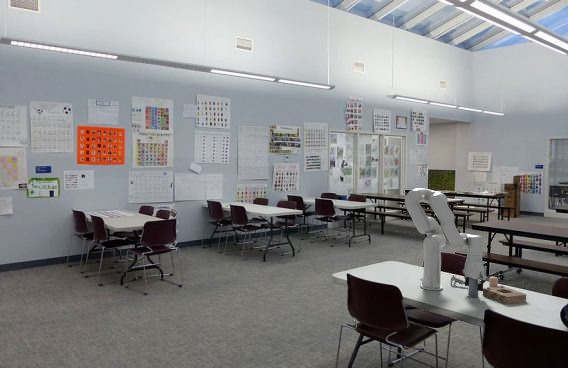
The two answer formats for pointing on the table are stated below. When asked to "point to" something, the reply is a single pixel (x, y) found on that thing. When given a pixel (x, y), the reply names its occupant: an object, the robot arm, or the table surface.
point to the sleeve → (473, 287)
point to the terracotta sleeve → (493, 282)
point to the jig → (504, 294)
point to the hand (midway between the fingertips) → (473, 288)
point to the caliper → (457, 280)
